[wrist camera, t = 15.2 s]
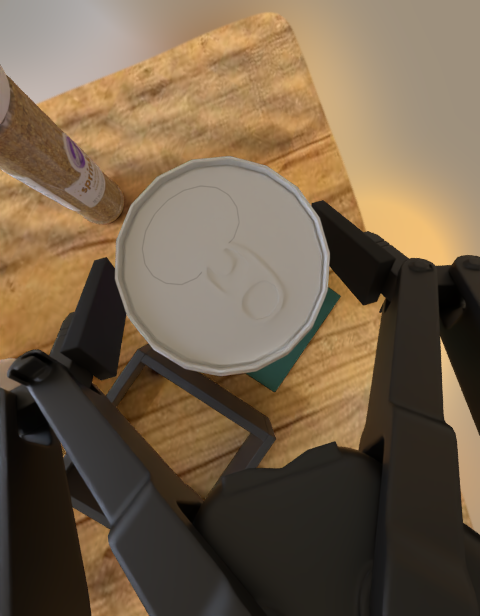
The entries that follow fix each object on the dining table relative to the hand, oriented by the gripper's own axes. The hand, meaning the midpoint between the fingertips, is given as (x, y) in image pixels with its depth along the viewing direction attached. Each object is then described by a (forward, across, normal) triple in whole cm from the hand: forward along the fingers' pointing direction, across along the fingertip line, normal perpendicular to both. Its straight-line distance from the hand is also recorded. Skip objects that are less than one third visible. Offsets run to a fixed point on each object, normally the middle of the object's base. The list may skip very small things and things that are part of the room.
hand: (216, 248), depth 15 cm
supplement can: (+4, 0, -7) cm, 8 cm away
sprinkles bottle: (+12, -10, 0) cm, 16 cm away
